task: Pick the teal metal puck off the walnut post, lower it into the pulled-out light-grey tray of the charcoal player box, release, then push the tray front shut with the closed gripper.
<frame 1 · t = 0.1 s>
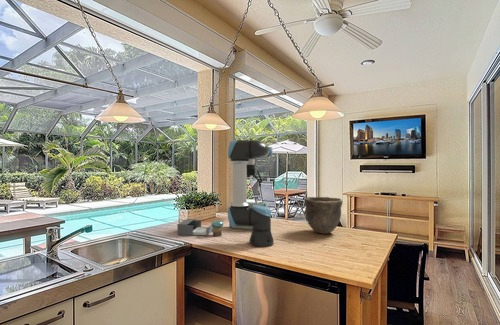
hand: (250, 190, 221), 28 cm above the counter, fingers open, 13 cm apart
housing: (191, 232, 198), on the counter
disc: (217, 225, 190), point 7 cm above the counter, touching post
clay pot: (323, 233, 197), on the counter
tray: (202, 228, 197), point 3 cm above the counter, slide at 8.0 cm
post: (217, 235, 190), on the counter
radio: (248, 228, 210), on the counter
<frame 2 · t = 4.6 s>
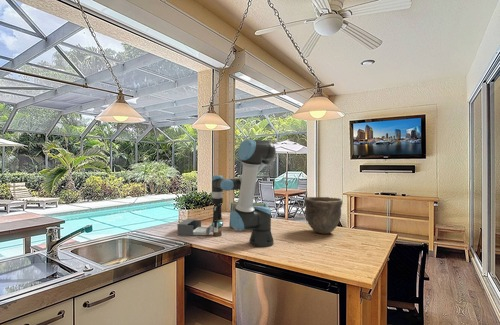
hand: (217, 230, 190), 3 cm above the counter, fingers closed on disc, 8 cm apart
disc: (217, 225, 190), point 7 cm above the counter, touching gripper, post
everything else where it was.
when the fingers open (3 cm above the counter, at t = 9.2 s): disc drops 5 cm, resting on tray.
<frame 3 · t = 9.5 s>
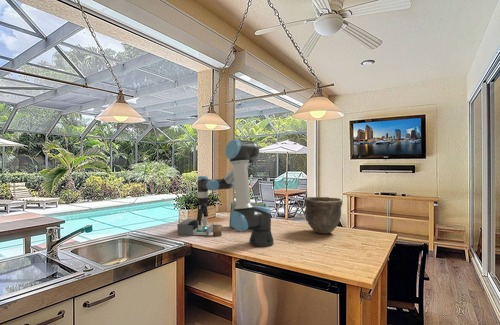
hand: (202, 227, 197), 4 cm above the counter, fingers open, 11 cm apart
disc: (202, 230, 197), point 1 cm above the counter, touching tray
tray: (202, 228, 197), point 3 cm above the counter, slide at 8.0 cm, touching disc
everything else where it was.
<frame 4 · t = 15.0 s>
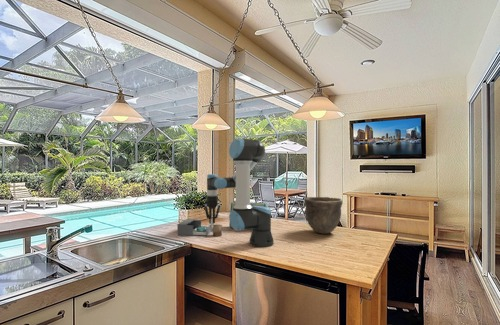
hand: (212, 227, 199), 3 cm above the counter, fingers closed
tray: (202, 228, 197), point 3 cm above the counter, slide at 7.6 cm, touching disc, gripper
everything else where it was.
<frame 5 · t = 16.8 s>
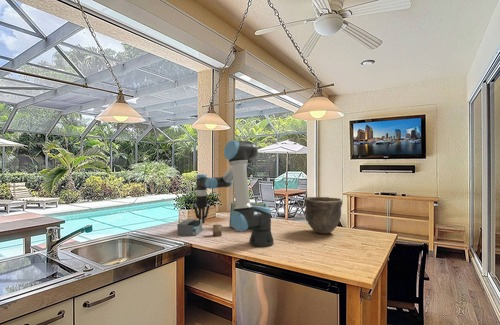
hand: (201, 227, 200), 3 cm above the counter, fingers closed
disc: (191, 230, 198), point 1 cm above the counter, touching tray
tray: (191, 228, 198), point 3 cm above the counter, slide at -0.1 cm, touching disc, gripper
everything else where it was.
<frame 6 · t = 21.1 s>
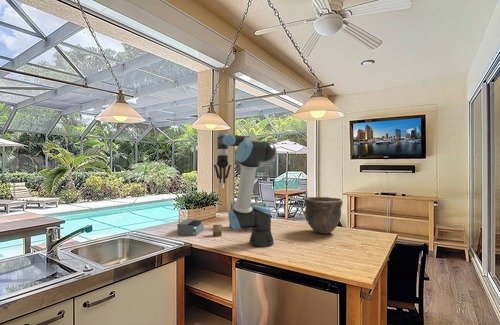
hand: (222, 187, 197), 32 cm above the counter, fingers closed
tray: (192, 228, 198), point 3 cm above the counter, slide at 0.0 cm, touching disc
everything else where it was.
at the end: tray slide at 0.0 cm; disc inside the target area (0.6 cm from its centre), point 1.5 cm above the counter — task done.
